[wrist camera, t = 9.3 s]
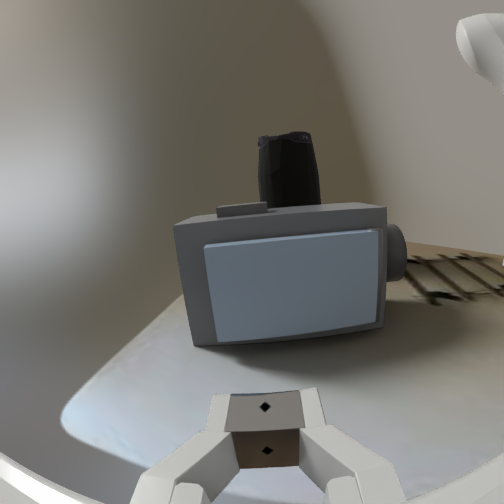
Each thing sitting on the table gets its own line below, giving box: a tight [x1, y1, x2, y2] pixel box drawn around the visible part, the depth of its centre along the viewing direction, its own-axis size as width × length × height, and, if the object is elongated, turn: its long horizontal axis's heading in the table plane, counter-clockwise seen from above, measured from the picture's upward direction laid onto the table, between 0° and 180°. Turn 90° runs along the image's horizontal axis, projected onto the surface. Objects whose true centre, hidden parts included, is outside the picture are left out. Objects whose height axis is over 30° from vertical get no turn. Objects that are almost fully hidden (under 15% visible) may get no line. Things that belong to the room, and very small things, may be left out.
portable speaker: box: [258, 132, 321, 209], centre depth 41 cm, size 9×9×20 cm
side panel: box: [204, 227, 383, 342], centre depth 20 cm, size 13×1×7 cm, turn 91°
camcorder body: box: [173, 202, 407, 346], centre depth 24 cm, size 19×7×11 cm, turn 88°
